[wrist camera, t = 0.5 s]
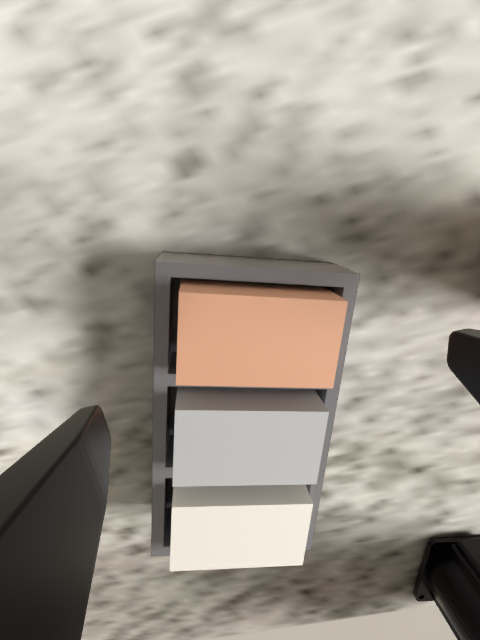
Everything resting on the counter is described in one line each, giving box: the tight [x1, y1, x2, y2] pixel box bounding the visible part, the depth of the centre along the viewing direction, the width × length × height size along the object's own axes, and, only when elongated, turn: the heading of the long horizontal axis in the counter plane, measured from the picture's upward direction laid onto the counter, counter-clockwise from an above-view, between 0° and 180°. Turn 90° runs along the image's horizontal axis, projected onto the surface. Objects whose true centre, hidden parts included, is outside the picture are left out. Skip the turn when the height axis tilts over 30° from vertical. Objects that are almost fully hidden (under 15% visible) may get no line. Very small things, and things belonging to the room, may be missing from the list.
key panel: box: [151, 251, 360, 556], centre depth 22 cm, size 18×10×4 cm, turn 175°
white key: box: [170, 485, 313, 571], centre depth 21 cm, size 4×8×3 cm, turn 85°
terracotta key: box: [176, 279, 348, 388], centre depth 18 cm, size 4×8×3 cm, turn 85°
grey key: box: [172, 387, 329, 487], centre depth 20 cm, size 4×8×3 cm, turn 86°
